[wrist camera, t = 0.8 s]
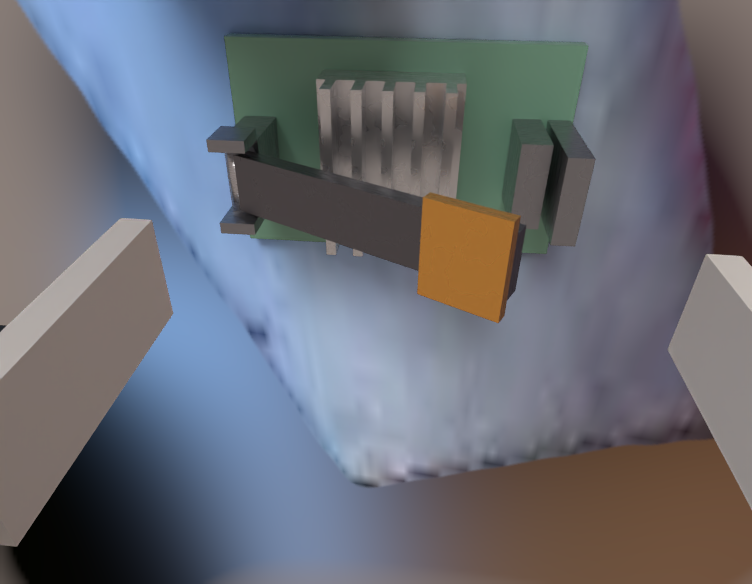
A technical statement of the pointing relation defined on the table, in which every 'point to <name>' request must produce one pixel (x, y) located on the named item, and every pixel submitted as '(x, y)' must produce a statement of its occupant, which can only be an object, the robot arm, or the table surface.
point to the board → (472, 57)
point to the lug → (547, 177)
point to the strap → (391, 228)
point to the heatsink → (392, 129)
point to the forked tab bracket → (239, 139)
